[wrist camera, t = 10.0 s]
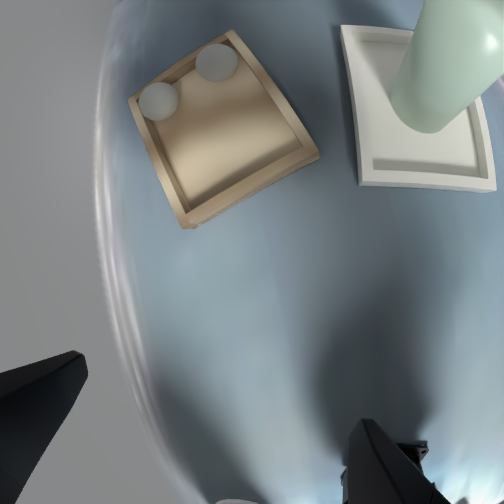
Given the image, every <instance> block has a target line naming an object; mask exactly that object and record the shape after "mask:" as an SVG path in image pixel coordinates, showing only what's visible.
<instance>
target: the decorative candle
mask: <svg viewBox="0 0 504 504" xmlns="http://www.w3.org/2000/svg"><path fill="white" fill-rule="evenodd" d="M216 504H258V503H256V502H252V501H246V500H241V499H225V500H221V501H217V502H216Z"/></svg>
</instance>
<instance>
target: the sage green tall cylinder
mask: <svg viewBox="0 0 504 504" xmlns="http://www.w3.org/2000/svg"><path fill="white" fill-rule="evenodd" d="M503 73H504V1H503V0H425V2H424V5H423V8H422V11H421V13H420V16H419V19H418V22H417V25H416V27H415V30H414V33H413V35H412V38H411V41H410V43H409V46H408V48H407V51H406V54H405V56H404V59H403V61H402V64H401V66H400V68H399V71H398V73H397V76H396V78H395V81H394V83H393V85H392V88H391V91H390V101H391V105H392V107H393V110H394V111H395V113H396V115H397V116H398V117H399V119H400V120H401V121H402V122H403V123H404V124H406V125H407V126H408V127H410V128H411V129H413V130H415V131H418V132H420V133H425V134H432V133H437V132H439V131H441V130H442V129H443V128H444V127H445V126H447V125H448V124H449V123H450V122H451V121H452V120H453V119H454V118H456V117H457V116H458V115H459V114H460V113H461V112H462V111H463V110H464V109H466V108H467V107H468V106H469V105H470V104H471V103H472V102H473V101H474V100H475V99H477V98H478V97H479V96H480V95H481V94H482V93H483V92H484V91H485V90H486V89H487V88H488V87H490V86H491V85H492V84H493V83H494V82H495V81H496V80H497V79H498V78H499V77H500V76H501V75H502V74H503Z"/></svg>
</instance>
